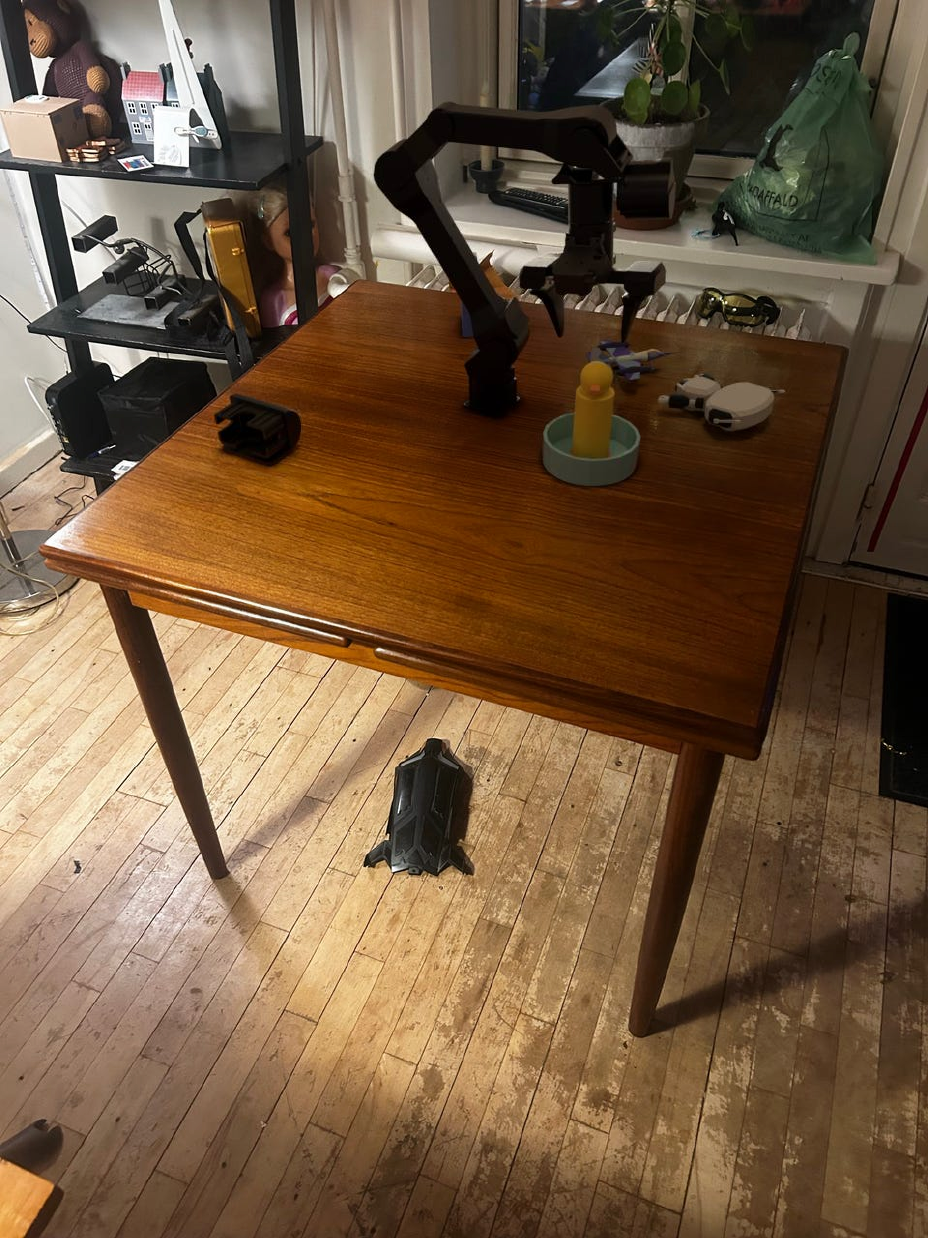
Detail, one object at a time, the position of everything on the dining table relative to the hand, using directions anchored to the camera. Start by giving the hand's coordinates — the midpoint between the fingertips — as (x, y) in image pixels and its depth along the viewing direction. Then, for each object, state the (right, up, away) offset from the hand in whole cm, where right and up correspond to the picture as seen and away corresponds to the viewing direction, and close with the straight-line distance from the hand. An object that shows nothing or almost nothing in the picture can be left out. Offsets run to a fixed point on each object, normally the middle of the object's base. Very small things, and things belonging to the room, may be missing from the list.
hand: (591, 339), depth 128 cm
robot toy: (+20, -9, +10) cm, 24 cm away
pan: (0, -17, +1) cm, 17 cm away
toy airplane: (+9, 0, +20) cm, 22 cm away
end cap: (-46, -14, +5) cm, 49 cm away
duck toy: (0, -16, 0) cm, 16 cm away
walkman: (-17, +12, +34) cm, 39 cm away
